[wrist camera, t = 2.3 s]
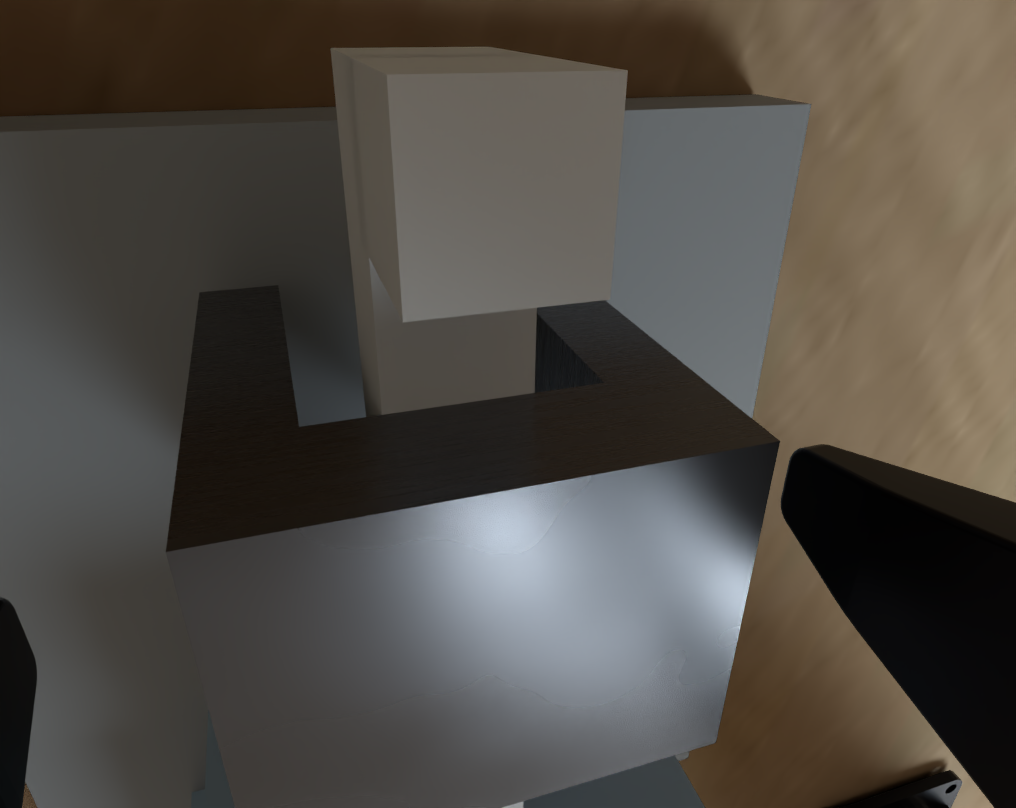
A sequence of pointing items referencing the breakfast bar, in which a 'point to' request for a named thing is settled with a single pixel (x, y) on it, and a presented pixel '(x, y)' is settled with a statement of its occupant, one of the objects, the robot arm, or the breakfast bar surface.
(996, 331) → the breakfast bar surface
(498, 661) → the dark grey block
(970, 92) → the breakfast bar surface
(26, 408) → the vise
